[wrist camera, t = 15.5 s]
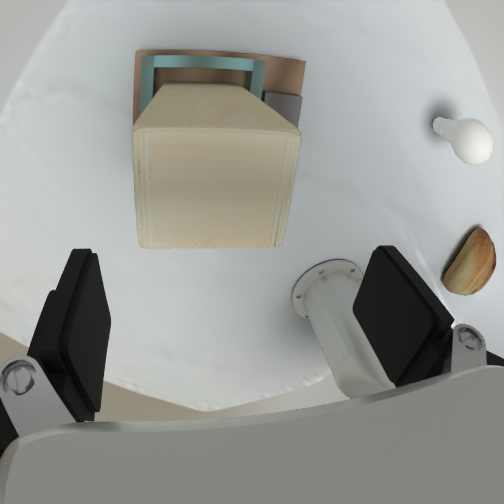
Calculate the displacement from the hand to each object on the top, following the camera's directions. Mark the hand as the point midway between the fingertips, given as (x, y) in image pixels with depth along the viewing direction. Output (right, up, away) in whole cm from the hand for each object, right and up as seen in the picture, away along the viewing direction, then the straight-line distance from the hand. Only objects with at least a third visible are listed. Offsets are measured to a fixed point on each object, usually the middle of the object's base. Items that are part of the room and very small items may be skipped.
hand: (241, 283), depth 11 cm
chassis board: (-4, +17, +23) cm, 29 cm away
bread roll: (+43, +1, +46) cm, 63 cm away
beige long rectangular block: (-5, +16, +22) cm, 27 cm away
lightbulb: (+27, +20, +28) cm, 44 cm away
